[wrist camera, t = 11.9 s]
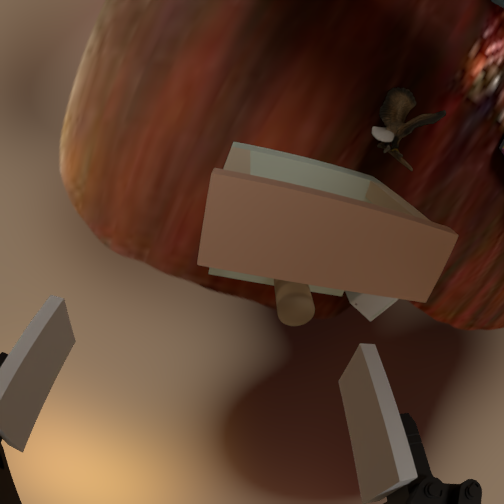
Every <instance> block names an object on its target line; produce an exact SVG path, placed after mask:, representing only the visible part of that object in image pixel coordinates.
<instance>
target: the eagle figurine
mask: <svg viewBox="0 0 504 504" xmlns="http://www.w3.org/2000/svg"><path fill="white" fill-rule="evenodd" d="M385 99H386V100H385V101H384V103H383V105H382V106H381V108H380V114H379V116H380V119H382V121H383V122H384V125H385V126H386V127H376V126H373V127H372V132H371V133H372V135H373V136H374V137H375V138H376V139H377V140H379V141H382V142H381V143H379V144H378V145H377V147H378V148H382V149H385V150H384V151H383V152H384V153H386V152H389V153H390V154H391V155H392V156H393V157H394V158H396V159H397V160H398V161H399V162H400V163H402V164H403V165H404V166H406V167H407V168H408V169H409V170H410V171H413V169H412V168H411V166H410V165H409V164H408V163H407V162H406V161H405V160H404V159H403V158H402V157H403V155H402V154H401V153H399V151H398V147H399V142H400V140H401V139H402V138H403V137H405V136H407V135H408V134H410V133H411V132H412V130H414V128H417V127H418V126H420V127H421V126H423V125H428V124H434V123H436V122H437V121H439V120H440V119H441V118H443V117H444V116H445V115H446V111H445V110H444V111H440V112H437V113H435V114H422V115H419V116H417V117H415V118H413V119H412V120H410V121H408V122H407V123H405V124H404V122H405V119H406V116H407V114H408V113H409V111H410V110H411V109H412V108H413V107H414V106H415V105H416V101H415V97H413V93H412V92H410V90H409V89H405V88H401V89H400V88H399V87H397V89H396V88H393V89H391V90H389V92H388V93H387V96H386V98H385ZM389 142H392V146H390V145H389Z"/></svg>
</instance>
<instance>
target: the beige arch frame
mask: <svg viewBox="0 0 504 504" xmlns="http://www.w3.org/2000/svg"><path fill="white" fill-rule="evenodd" d="M365 197H366V198H367V199H368V200H370V201H371V202H372V203H373V204H371V203H367V202H364V201H360V200H356V199H353V198H349V197H345V196H341V195H337V194H333V193H330V192H326V191H321V190H317V189H313V188H309V187H305V186H301V185H296V184H292V183H287V182H283V181H278V180H274V179H269V178H264V177H260V176H255V175H251V173H250V150H247V149H241V148H236V147H231V150H230V152H229V155H228V158H227V160H226V163H225V166H224V168H223V169H218V168H214V169H213V171H212V173H211V179H210V185H209V191H208V196H207V202H206V208H205V215H204V221H203V227H202V234H201V240H200V247H199V254H198V261H197V265H200V266H206V267H211V268H217V269H222V270H228V271H233V272H239V273H244V274H250V275H256V276H261V277H267V278H273V279H279V280H285V281H291V282H296V283H302V284H308V285H314V286H321V287H327V288H333V289H339V290H345V291H352V292H358V293H364V294H371V295H377V296H384V297H391V298H397V299H404V300H411V301H418V302H425V303H426V301H427V299H428V297H429V295H430V294H431V292H432V290H433V288H434V286H435V284H436V282H437V280H438V278H439V276H440V274H441V272H442V270H443V268H444V266H445V264H446V262H447V260H448V258H449V256H450V254H451V252H452V249H453V247H454V245H455V243H456V241H457V238H458V236H459V235H458V234H456V233H455V232H454V231H453V230H452V229H450V228H449V227H446V226H443V225H440V224H437V223H434V222H431V221H430V220H429V219H428V218H426V217H425V216H424V215H423V214H422V213H420V212H419V211H418V210H417V209H415V208H414V207H413V206H412V205H410V204H409V203H408V202H407V201H405V200H404V199H403V198H401V197H400V196H399V195H398V194H396V193H395V192H394V191H392V190H391V189H390V188H388V187H387V186H386V185H383V184H380V183H377V182H374V181H370V184H369V187H368V190H367V193H366V196H365Z"/></svg>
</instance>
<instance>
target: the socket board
mask: <svg viewBox="0 0 504 504" xmlns="http://www.w3.org/2000/svg"><path fill="white" fill-rule="evenodd" d="M232 147H236V148H241V149H247V150H250V173H251V175H255V176H260V177H264V178H269V179H274V180H278V181H283V182H287V183H292V184H296V185H301V186H305V187H309V188H313V189H317V190H321V191H326V192H330V193H333V194H337V195H341V196H345V197H349V198H353V199H356V200H360V201H364V202H367V203H371V204H373V203H372V202H371V201H370V200H368V199H367V198H366V197H365V196H366V193H367V190H368V187H369V184H370V181H374V182H377V183H380V184H383V183H382V182H380V181H379V180H377V179H376V178H375V177H373V176H371V175H367V174H364V173H361V172H357V171H354V170H351V169H347V168H344V167H340V166H336V165H333V164H329V163H325V162H322V161H318V160H314V159H310V158H306V157H302V156H298V155H294V154H290V153H285V152H281V151H277V150H272V149H267V148H263V147H258V146H253V145H248V144H243V143H238V142H233V145H232ZM383 185H384V184H383ZM208 274H211V275H216V276H222V277H227V278H233V279H239V280H244V281H250V282H256V283H262V284H268V285H273V286H274V279H273V278H267V277H261V276H256V275H250V274H244V273H239V272H233V271H228V270H222V269H217V268H211V267H209V273H208ZM309 288H310V292H316V293H323V294H329V295H336V296H342V295H343V293H344V290H339V289H333V288H327V287H321V286H314V285H309Z"/></svg>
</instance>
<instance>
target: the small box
mask: <svg viewBox="0 0 504 504" xmlns="http://www.w3.org/2000/svg"><path fill="white" fill-rule="evenodd" d="M345 292H346V295H347V297H348V299H349V302H350V304H351V305H353V306H354V307H355V308H356V309H357V310H358V311H359V312H361V313H362V314H363V315H364V316H365V317H366V318H367V319H368V320H369V321H372V320H373V319H375V318H376V317H377V316H378V315H380V314H381V313H382V312H383V311H384V310H386V309H387V308H388V307H390V306H391V305H392V304H393V303H395V302H396V301H397V300H398V299H397V298H391V297H384V296H377V295H371V294H364V293H358V292H352V291H345Z"/></svg>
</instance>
